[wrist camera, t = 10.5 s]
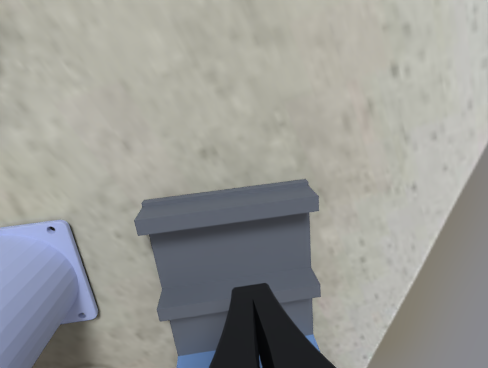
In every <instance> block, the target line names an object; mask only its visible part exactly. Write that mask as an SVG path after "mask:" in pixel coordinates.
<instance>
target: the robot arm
mask: <svg viewBox="0 0 488 368" xmlns="http://www.w3.org/2000/svg"><path fill="white" fill-rule="evenodd" d="M50 227H54V228H55V231H53V230H51V229H50ZM82 313H84V314H85V315H84V314H82ZM97 314H98V308H97V305H96V302H95V299H94V296H93V294H92V291H91V288H90V285H89V282H88V279H87V276H86V273H85V270H84V267H83V264H82V261H81V258H80V255H79V252H78V249H77V246H76V243H75V240H74V237H73V234H72V232H71V229H70V226H69V224H68V223H67V222H66V221H64V220H54V221H46V222H39V223H31V224H24V225H16V226H8V227H1V228H0V368H32V366H33V365H34V363H35V362H36V360H37V359H38V357H39V356H40V354H41V353H42V351H43V350H44V348H45V347H46V345H47V343H48V342H49V340H50V339H51V337H52V336H53V334H54V333H55V331H56V330H57V328H58V327H59V325H60V324H66V323H73V322H79V321H86V320H92V319H94V318H96V316H97ZM259 356H260V360H261V364H262V368H336V367H335V366H334V365H333V364H332V363H331V362H330V361H329V360H328V359H326V358H325V357H324V356H323V355H322V354H321V353H320V352H319V351H318V350H317V348H316V347H315V346H314V345H313V344H312V343H311V342H310V341H309V340H308V339H307V338H306V336H305V335H304V334H303V333H302V332H301V331H300V330H299V328H298V327H297V326H296V325H295V323H294V322H293V321H292V320H291V318H290V317H289V316H288V314H287V313H286V312H285V310H284V309H283V308H282V306H281V305H280V303H279V302H278V300H277V299H276V297H275V296H274V294H273V292H272V291H271V289H270V287H269V285H268V284H267V283H261V284H254V285H247V286H241V287H234V288H233V289H232V292H231V301H230V306H229V311H228V315H227V318H226V322H225V325H224V328H223V332H222V335H221V338H220V340H219V343H218V346H217V348H216V351H215V354H214V356H213V359H212V361H211V363H210V366H209V368H260V361H259Z"/></svg>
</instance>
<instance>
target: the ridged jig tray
mask: <svg viewBox="0 0 488 368" xmlns="http://www.w3.org/2000/svg"><path fill="white" fill-rule="evenodd" d="M315 211H319V196H318V195H317V194H316V193H315V192H314V191H313V190H312V189H311V188H310V186H309V185H308V181H307V180H306V179H302V180H294V181H287V182H279V183H271V184H264V185H256V186H248V187H241V188H233V189H225V190H218V191H210V192H202V193H195V194H187V195H180V196H172V197H164V198H157V199H149V200H144V201H143V202H142V209H141V210H140V212H139V214H138V215H137V217H136V218H135V220H134V222H135V226H136V230H137V234H138V236H140V235H147V234H149V237H150V241H151V245H152V249H153V253H154V257H155V262H156V266H157V270H158V274H159V278H160V282H161V287H162V292H161V296H160V299H159V303H158V307H157V312H158V316H159V320H160V321H167V320H170V324H171V328H172V332H173V337H174V341H175V345H176V349H177V353H178V362H177V368H209V366H210V363H211V361H212V359H213V356H214V354H215V351H216V348H217V346H218V343H219V340H220V338H221V335H222V332H223V328H224V325H225V322H226V318H227V315H228V311H229V306H230V301H231V292H232V289H233V288H234V287H241V286H247V285H254V284H261V283H267V284H268V285H269V287H270V289H271V291H272V292H273V294H274V296H275V297H276V299H277V300H278V302H279V303H280V305H281V306H282V308H283V309H284V310H285V312H286V313H287V314H288V316H289V317H290V318H291V320H292V321H293V322H294V323H295V325H296V326H297V327H298V328H299V330H300V331H301V332H302V333H303V334H304V335H305V336H306V338H307V339H308V340H309V341H310V342H311V343H312V344H313V345H314V346H315V347H316V348H317V350H318V351H319V352H320V350H319V348H318V345H317V343H316V340H315V338H314V335H313V314H312V298H315V297H321V295H320V283H319V281H318V279H317V278H316V276H315V274H314V272H313V270H312V268H311V252H310V221H309V212H315ZM259 361H260V368H262V364H261V360H260V356H259Z"/></svg>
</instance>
